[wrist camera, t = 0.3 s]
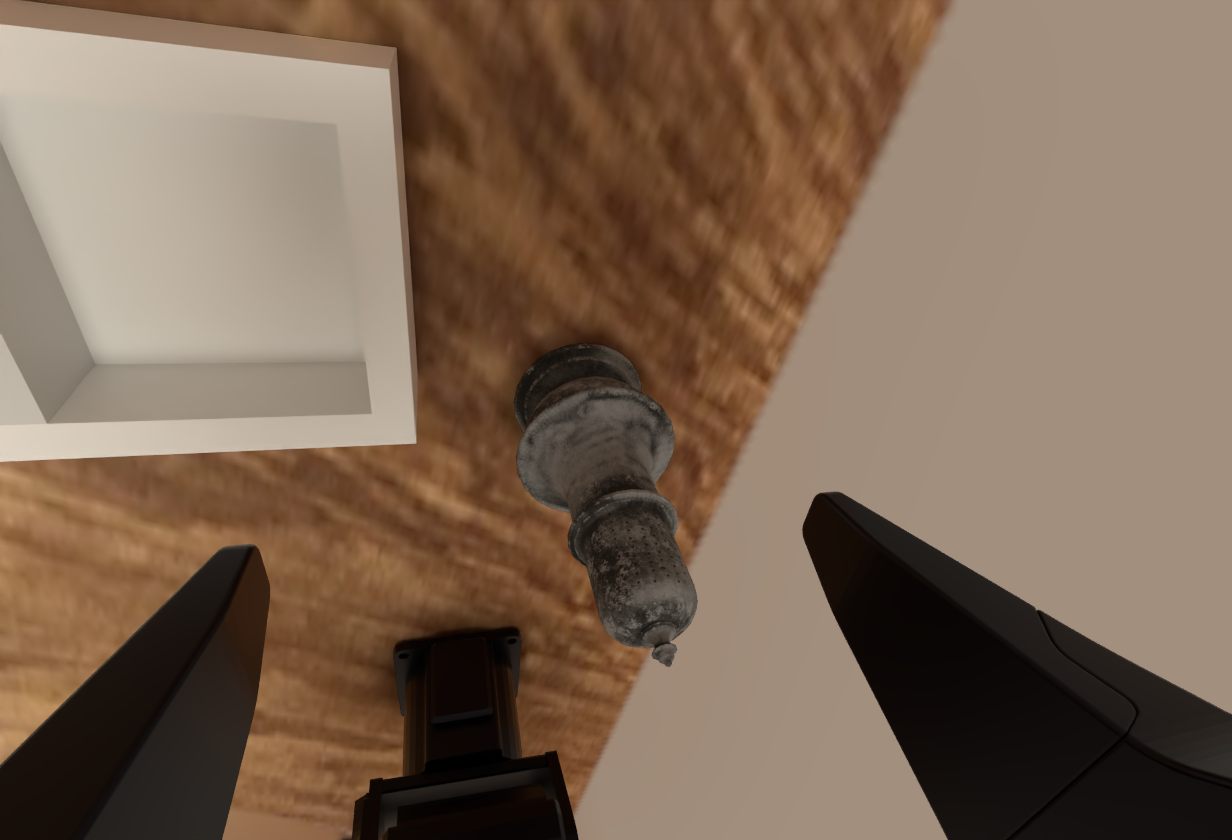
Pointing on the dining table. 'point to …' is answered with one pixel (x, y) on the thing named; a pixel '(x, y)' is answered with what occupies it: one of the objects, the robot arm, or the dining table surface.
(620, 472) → the grey stone turned post
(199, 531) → the dining table surface
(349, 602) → the dining table surface
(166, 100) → the condiment caddy
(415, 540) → the dining table surface
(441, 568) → the dining table surface
